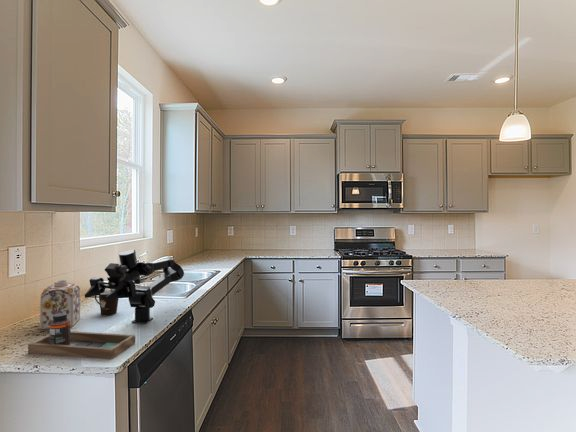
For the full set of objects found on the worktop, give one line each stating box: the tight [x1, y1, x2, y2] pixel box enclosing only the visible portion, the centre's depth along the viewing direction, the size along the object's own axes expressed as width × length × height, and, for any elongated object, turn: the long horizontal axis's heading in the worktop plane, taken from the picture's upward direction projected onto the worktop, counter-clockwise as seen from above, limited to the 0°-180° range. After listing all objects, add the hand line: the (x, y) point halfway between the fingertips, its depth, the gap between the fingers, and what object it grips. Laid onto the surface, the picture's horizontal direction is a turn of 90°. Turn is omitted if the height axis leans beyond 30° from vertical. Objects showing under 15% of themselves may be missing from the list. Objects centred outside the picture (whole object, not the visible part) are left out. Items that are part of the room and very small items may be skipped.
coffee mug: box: [94, 289, 120, 317], centre depth 155 cm, size 12×9×10 cm
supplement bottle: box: [49, 313, 71, 345], centre depth 117 cm, size 6×6×11 cm
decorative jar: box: [39, 279, 81, 330], centre depth 140 cm, size 12×12×18 cm
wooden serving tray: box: [27, 330, 136, 360], centre depth 116 cm, size 13×30×3 cm, turn 83°
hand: (95, 297), depth 120 cm, fingers open, 9 cm apart
